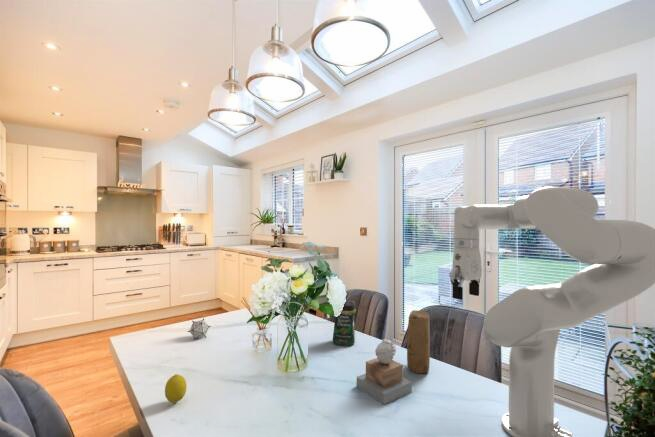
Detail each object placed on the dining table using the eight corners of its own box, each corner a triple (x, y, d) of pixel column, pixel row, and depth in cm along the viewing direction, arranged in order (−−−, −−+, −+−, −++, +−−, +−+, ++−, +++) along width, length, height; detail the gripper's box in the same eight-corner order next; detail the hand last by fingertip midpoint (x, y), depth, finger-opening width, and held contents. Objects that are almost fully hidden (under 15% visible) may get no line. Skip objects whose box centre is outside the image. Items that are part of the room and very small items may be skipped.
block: (428, 376, 105) (428, 317, 105) (405, 372, 108) (406, 314, 108) (431, 363, 115) (431, 309, 115) (410, 359, 118) (411, 307, 118)
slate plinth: (411, 391, 96) (411, 382, 96) (384, 404, 88) (384, 394, 89) (383, 375, 105) (383, 367, 105) (356, 386, 98) (356, 376, 98)
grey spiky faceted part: (194, 347, 136) (179, 330, 134) (206, 334, 143) (192, 317, 142) (206, 341, 132) (191, 323, 131) (218, 327, 140) (204, 310, 138)
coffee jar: (331, 345, 131) (331, 301, 131) (334, 338, 139) (335, 297, 139) (353, 347, 129) (354, 303, 129) (356, 340, 136) (356, 298, 137)
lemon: (180, 395, 92) (181, 368, 92) (189, 402, 88) (190, 374, 88) (161, 403, 87) (161, 375, 88) (169, 411, 84) (170, 381, 84)
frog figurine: (400, 363, 97) (400, 341, 97) (385, 369, 93) (386, 346, 93) (385, 356, 102) (385, 335, 102) (370, 362, 97) (370, 340, 97)
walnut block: (402, 381, 96) (402, 364, 96) (384, 388, 91) (384, 371, 91) (383, 370, 102) (383, 355, 103) (365, 377, 98) (365, 361, 98)
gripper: (462, 245, 93) (461, 303, 93) (491, 244, 103) (491, 295, 103) (440, 244, 99) (439, 298, 99) (469, 242, 109) (469, 291, 109)
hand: (466, 296), depth 101 cm, fingers open, 9 cm apart
